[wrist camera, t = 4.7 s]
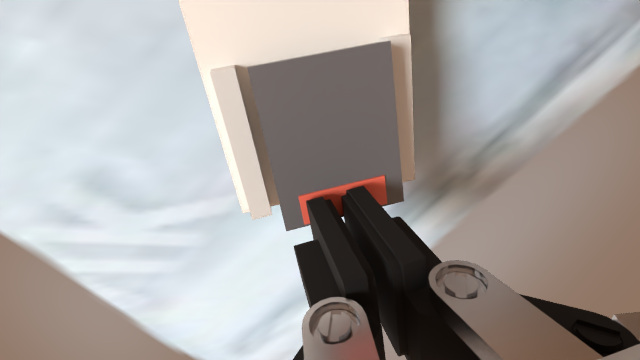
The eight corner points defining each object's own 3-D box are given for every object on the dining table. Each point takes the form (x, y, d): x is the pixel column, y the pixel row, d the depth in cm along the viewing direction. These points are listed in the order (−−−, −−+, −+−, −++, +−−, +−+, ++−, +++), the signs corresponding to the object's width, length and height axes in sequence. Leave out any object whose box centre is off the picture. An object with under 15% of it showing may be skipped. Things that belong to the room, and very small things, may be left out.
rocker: (246, 66, 10) (247, 68, 9) (377, 41, 10) (391, 40, 9) (283, 217, 11) (286, 232, 11) (391, 189, 12) (404, 202, 11)
